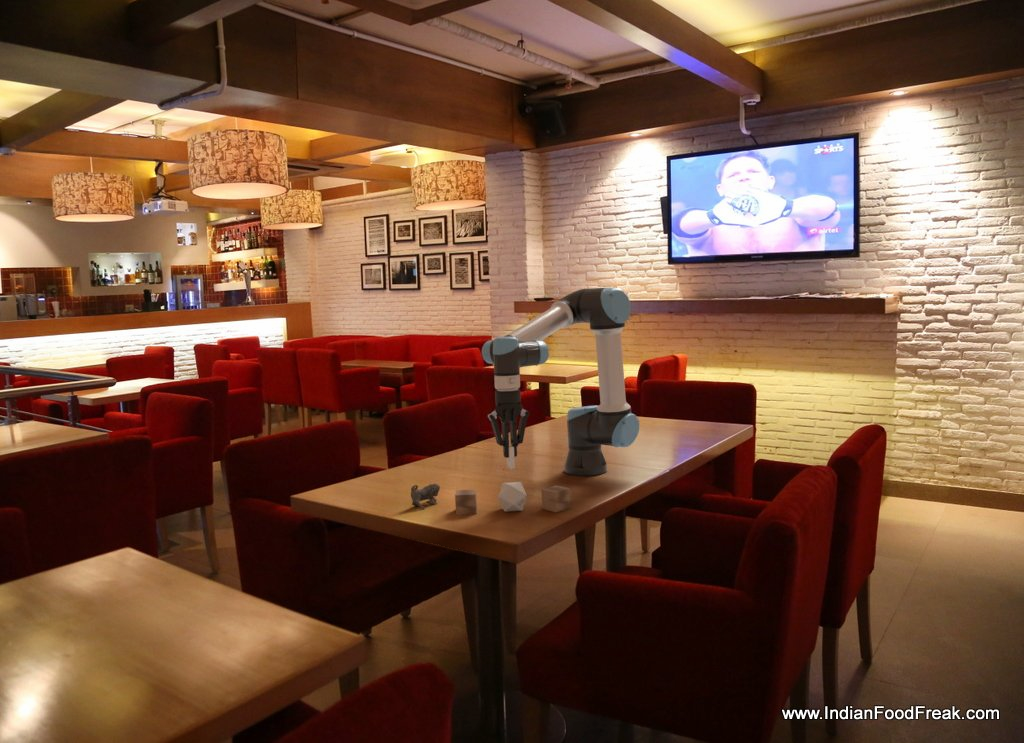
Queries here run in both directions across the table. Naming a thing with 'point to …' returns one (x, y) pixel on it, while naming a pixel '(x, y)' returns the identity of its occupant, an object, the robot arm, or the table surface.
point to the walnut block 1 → (466, 502)
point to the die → (512, 496)
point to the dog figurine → (424, 494)
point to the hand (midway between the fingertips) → (510, 467)
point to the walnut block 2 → (556, 498)
